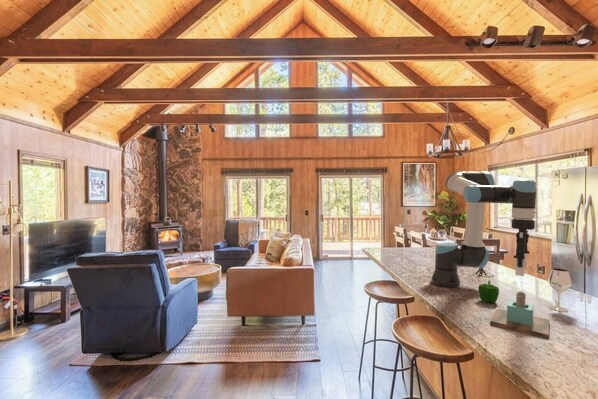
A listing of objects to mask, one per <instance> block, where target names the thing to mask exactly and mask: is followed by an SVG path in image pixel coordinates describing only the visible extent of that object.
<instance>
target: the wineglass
mask: <svg viewBox="0 0 598 399" xmlns="http://www.w3.org/2000/svg"><path fill="white" fill-rule="evenodd" d="M547 282H548V284H549V286H550V287H551V288H552V289H554V291H555V292H556V293H557V306H556V305H552V306H549V309H551V310H554V311H557V312H564V313H565V312H569V309H567V308H565V307H561V294H562V293H564V292H565V291H567V290H569V289H570V288H571V286H572V284H573V283H572V279H571V275H570V272H569V270H567V269H564V268H563V269H562V268H555V267H552V268H551V271H550V273H549V275H548V280H547Z"/></svg>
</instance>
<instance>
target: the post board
mask: <svg viewBox="0 0 598 399" xmlns="http://www.w3.org/2000/svg"><path fill="white" fill-rule="evenodd" d="M515 296H516V297H515V302H516V306H518V307H523V308H525V304H526V293H525V292H524V291H517V292H516V294H515ZM489 325H491V326H494V327H499V328H503V329H507V330H512V331H515V332H519V333H523V334H527V335H530V336H531V335H532V336H535V337H540V338H543V339H548V340H549V337H550V335H549V334H550V319H548V318H543V317H539V316H534V315H533V323H532V326H529V325H524V324H520V323H516V322H511V321H507V309H501V308H496V309H495V312H494V313H493V315H492V317H491V319H490V321H489Z"/></svg>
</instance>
